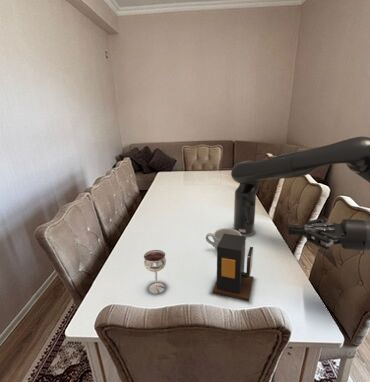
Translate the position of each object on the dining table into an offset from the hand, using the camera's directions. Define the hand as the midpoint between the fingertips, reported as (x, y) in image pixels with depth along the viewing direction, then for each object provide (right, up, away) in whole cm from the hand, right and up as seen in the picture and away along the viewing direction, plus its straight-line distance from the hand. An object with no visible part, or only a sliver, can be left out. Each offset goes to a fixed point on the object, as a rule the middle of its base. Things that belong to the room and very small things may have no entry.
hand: (288, 229), depth 68 cm
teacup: (-13, -14, +32) cm, 38 cm away
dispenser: (-14, -20, +12) cm, 27 cm away
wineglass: (-37, -21, +12) cm, 44 cm away
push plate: (-9, -14, +8) cm, 19 cm away
